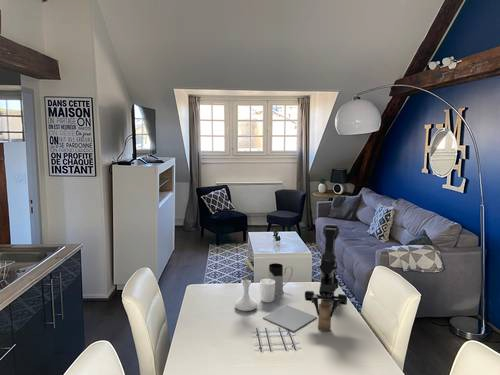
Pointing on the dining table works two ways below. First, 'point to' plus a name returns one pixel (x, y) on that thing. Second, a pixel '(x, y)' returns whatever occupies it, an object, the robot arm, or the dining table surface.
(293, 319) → the slate tile
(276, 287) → the grey pitcher
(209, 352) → the dining table surface
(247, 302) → the flower in vase
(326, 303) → the pepper mill
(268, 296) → the white cup
